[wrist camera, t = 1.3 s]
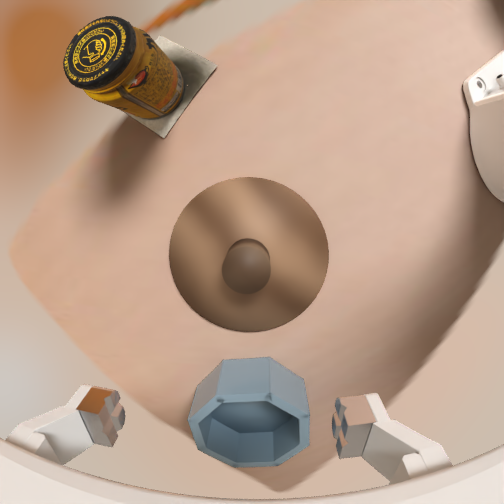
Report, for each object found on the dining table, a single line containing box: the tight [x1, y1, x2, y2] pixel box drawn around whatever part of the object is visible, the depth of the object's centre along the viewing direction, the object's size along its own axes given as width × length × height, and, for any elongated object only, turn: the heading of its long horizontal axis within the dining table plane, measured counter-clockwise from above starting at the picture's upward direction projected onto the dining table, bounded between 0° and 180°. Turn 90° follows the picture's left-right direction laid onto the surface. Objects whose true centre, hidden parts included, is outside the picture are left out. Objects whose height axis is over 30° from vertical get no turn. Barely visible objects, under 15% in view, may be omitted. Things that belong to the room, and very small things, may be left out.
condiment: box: [63, 16, 218, 138], centre depth 19 cm, size 7×8×12 cm
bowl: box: [187, 357, 310, 467], centre depth 30 cm, size 12×12×6 cm
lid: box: [169, 177, 329, 332], centre depth 27 cm, size 15×15×4 cm
